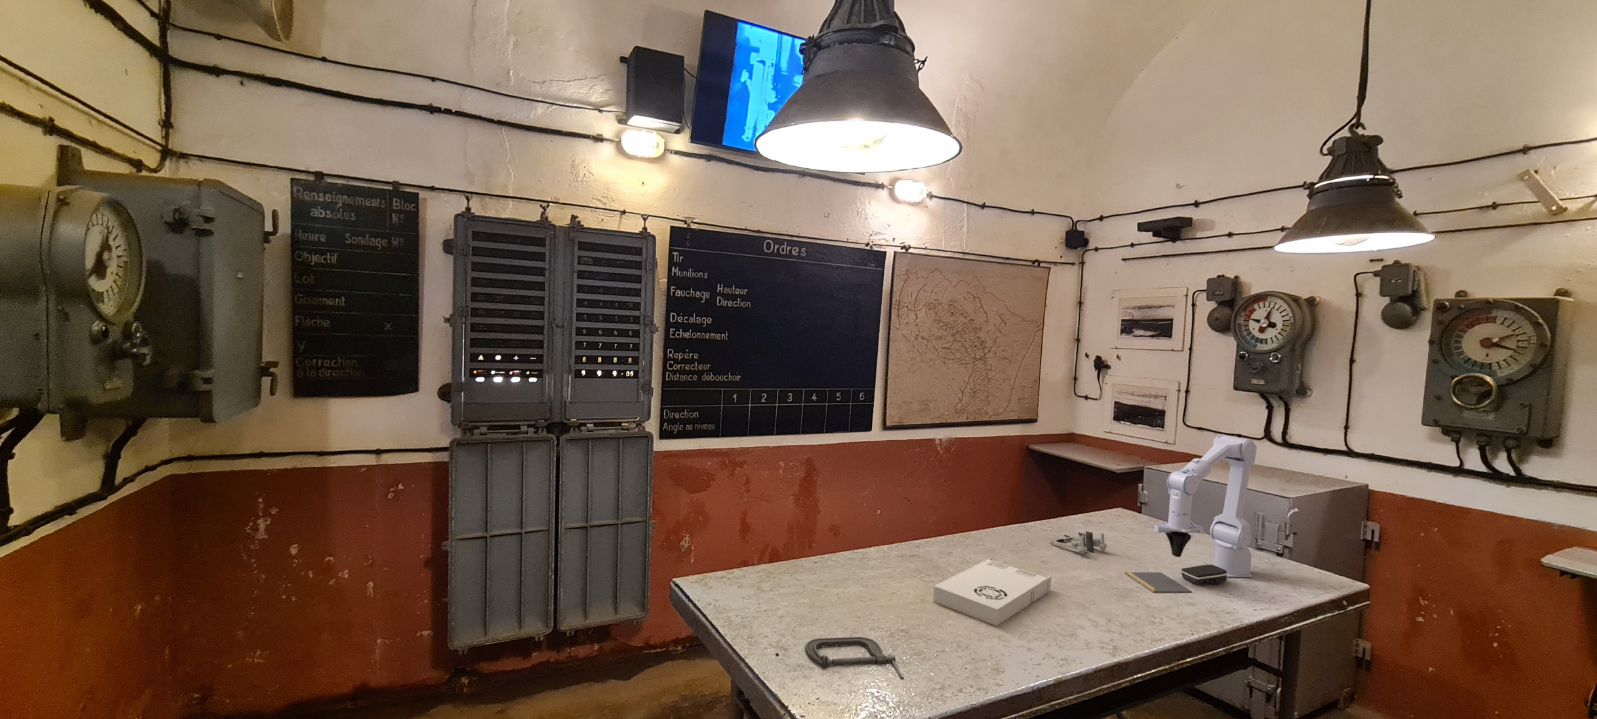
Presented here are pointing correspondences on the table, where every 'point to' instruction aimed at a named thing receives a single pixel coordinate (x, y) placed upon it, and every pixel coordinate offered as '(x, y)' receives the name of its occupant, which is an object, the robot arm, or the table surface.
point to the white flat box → (991, 591)
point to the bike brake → (1082, 542)
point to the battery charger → (1204, 574)
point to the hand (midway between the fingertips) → (1176, 555)
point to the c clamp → (866, 642)
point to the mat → (1157, 582)
